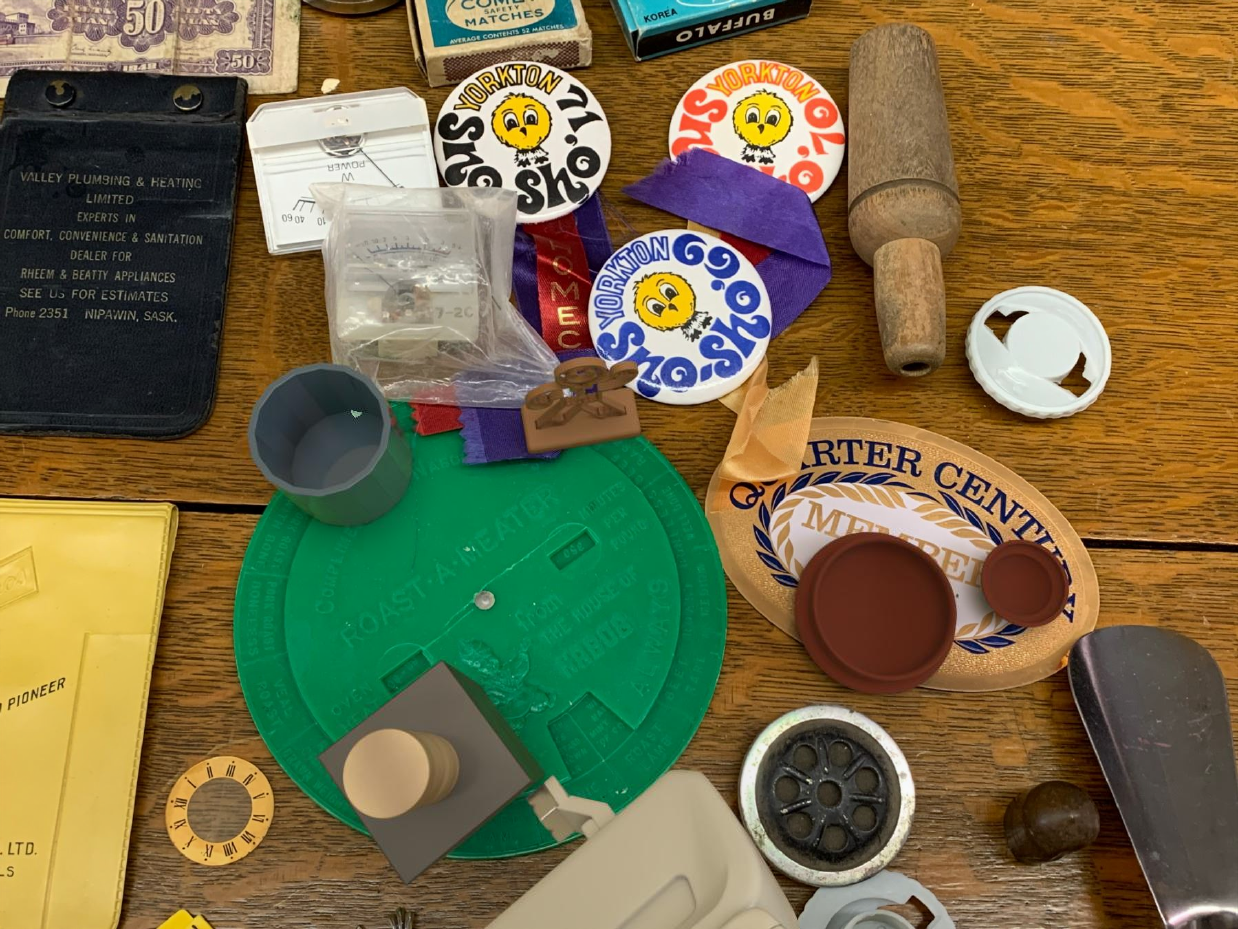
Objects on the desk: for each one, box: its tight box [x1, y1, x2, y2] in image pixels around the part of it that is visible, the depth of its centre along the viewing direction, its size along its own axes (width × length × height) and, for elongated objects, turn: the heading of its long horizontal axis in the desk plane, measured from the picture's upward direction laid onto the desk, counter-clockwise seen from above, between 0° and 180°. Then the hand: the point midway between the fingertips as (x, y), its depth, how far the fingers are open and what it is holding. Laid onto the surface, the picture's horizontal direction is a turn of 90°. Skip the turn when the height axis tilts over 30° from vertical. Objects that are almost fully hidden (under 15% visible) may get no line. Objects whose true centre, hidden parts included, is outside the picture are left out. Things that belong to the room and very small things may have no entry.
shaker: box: [343, 728, 459, 819], centre depth 45 cm, size 4×4×10 cm
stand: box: [316, 659, 546, 886], centre depth 58 cm, size 8×8×18 cm
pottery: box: [794, 531, 1070, 696], centre depth 69 cm, size 12×20×4 cm, turn 100°
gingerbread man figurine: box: [520, 356, 642, 455], centre depth 69 cm, size 9×4×12 cm, turn 101°
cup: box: [246, 362, 414, 527], centre depth 68 cm, size 9×9×9 cm
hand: (455, 869), depth 39 cm, fingers open, 8 cm apart
